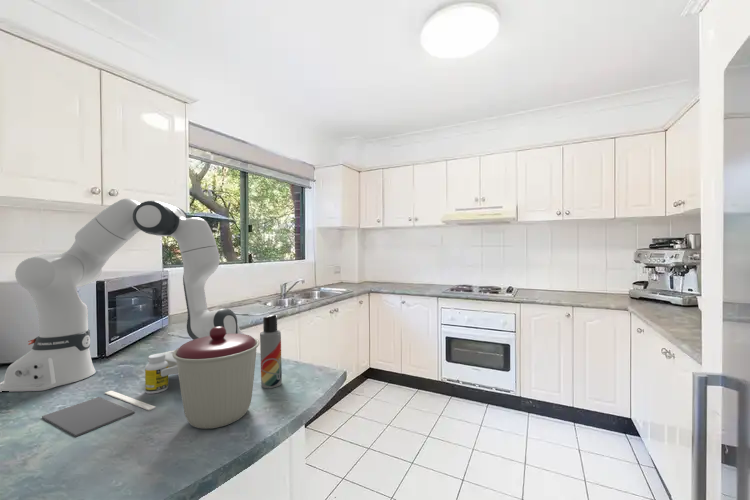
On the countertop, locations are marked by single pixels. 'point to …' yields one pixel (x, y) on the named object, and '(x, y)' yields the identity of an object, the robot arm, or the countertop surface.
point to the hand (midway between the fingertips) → (153, 371)
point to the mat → (87, 416)
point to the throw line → (130, 400)
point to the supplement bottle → (155, 374)
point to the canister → (216, 377)
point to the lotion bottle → (270, 353)
